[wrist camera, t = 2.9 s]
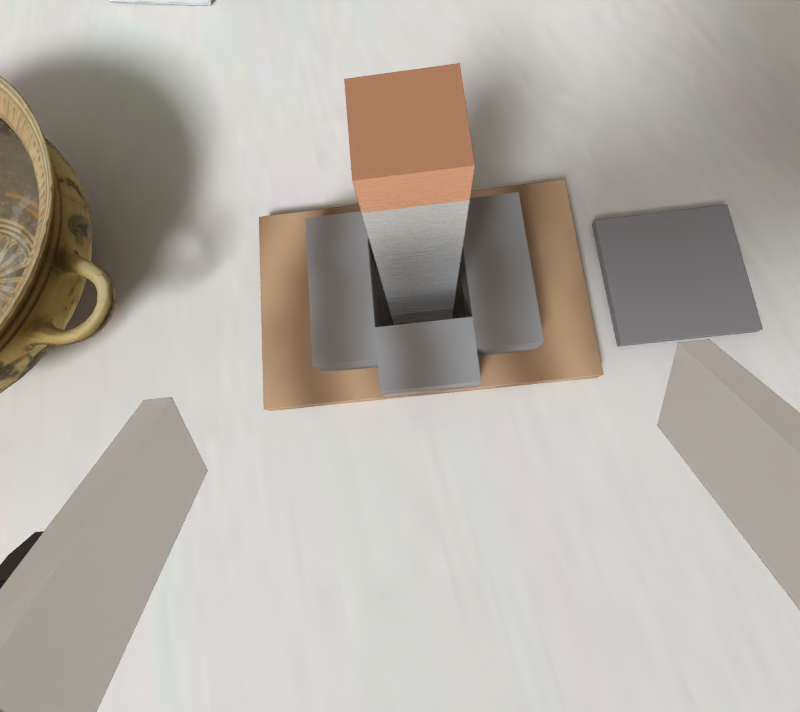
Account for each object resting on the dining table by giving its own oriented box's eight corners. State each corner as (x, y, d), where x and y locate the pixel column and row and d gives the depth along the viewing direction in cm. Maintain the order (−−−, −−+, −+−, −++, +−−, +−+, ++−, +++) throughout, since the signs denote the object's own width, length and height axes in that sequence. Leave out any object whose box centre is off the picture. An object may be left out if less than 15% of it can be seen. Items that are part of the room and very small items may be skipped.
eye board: (559, 189, 32) (575, 157, 29) (596, 377, 29) (618, 367, 26) (264, 225, 34) (245, 198, 30) (270, 410, 30) (249, 405, 27)
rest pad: (721, 209, 31) (727, 204, 31) (756, 331, 29) (762, 329, 29) (592, 224, 32) (595, 220, 31) (617, 346, 30) (621, 344, 29)
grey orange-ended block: (445, 267, 32) (459, 62, 15) (451, 320, 31) (474, 165, 14) (389, 273, 32) (344, 78, 15) (394, 326, 31) (352, 180, 15)
